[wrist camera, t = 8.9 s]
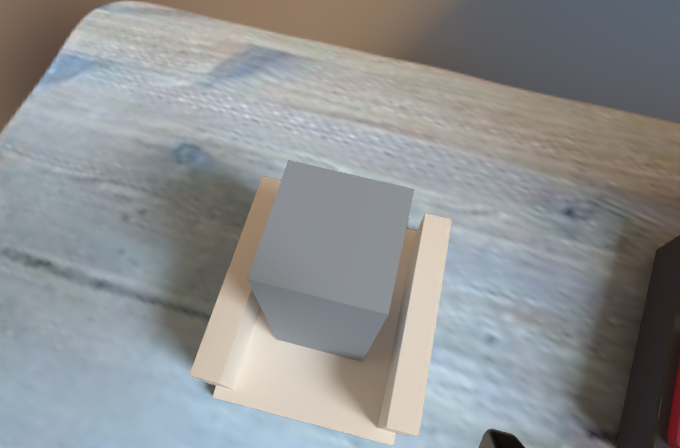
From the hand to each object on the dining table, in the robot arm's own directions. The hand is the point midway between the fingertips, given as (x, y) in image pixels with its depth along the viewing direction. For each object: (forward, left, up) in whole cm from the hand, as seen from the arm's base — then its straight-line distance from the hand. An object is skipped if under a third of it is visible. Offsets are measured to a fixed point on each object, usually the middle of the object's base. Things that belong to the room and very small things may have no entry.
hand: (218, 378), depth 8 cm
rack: (+5, +1, -14) cm, 14 cm away
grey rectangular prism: (+5, +1, -13) cm, 14 cm away
